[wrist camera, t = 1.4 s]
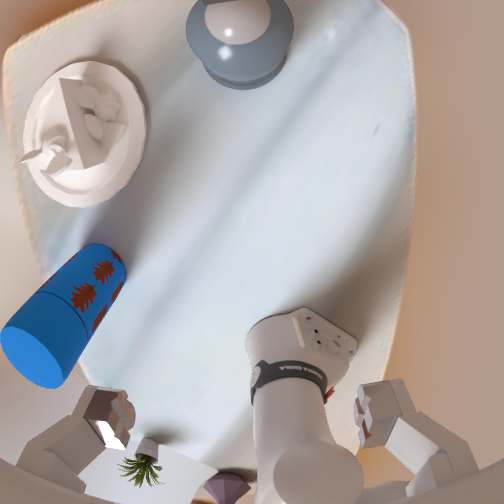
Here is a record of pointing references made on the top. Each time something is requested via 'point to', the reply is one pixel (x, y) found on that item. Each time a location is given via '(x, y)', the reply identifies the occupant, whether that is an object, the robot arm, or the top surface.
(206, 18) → the dispenser
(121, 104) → the dish
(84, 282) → the thermos
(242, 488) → the flask
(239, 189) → the top surface
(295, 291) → the top surface
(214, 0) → the pump head
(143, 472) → the house plant
